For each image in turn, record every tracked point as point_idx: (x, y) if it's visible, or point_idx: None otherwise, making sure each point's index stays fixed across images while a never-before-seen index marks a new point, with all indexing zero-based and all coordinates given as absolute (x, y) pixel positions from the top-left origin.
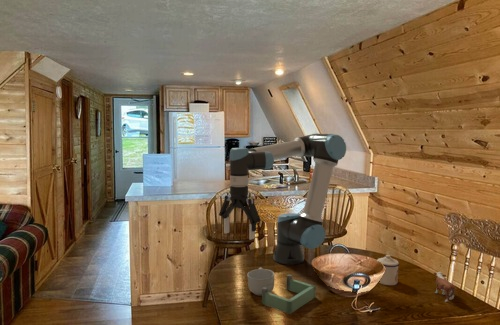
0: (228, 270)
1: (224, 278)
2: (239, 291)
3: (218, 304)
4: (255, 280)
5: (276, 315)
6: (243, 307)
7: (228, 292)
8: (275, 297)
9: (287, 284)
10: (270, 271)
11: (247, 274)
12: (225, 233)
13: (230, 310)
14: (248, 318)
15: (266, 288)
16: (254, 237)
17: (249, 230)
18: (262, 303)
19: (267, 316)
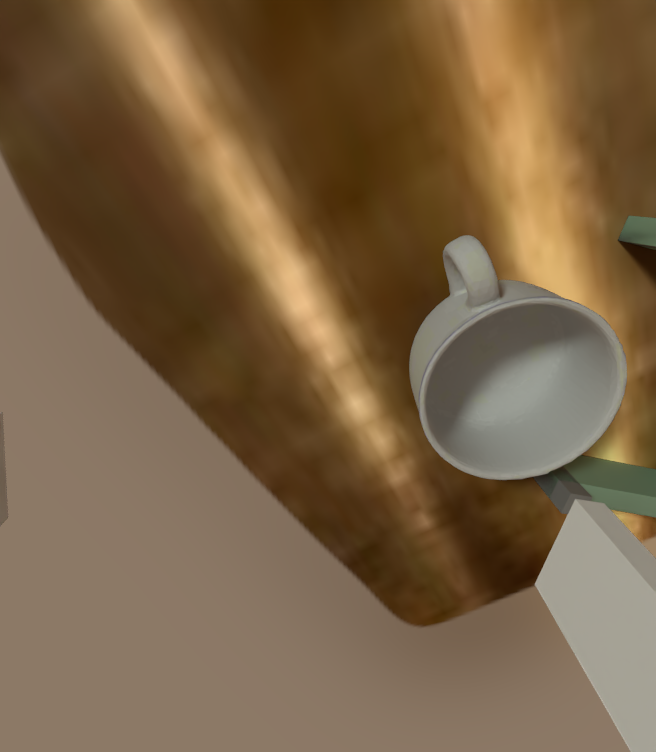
0: (88, 100)
1: (165, 268)
2: (356, 394)
3: (330, 551)
4: (505, 473)
5: None
6: (449, 525)
7: (306, 432)
8: (630, 511)
9: (648, 246)
10: (581, 314)
11: (428, 435)
12: (6, 518)
13: (406, 568)
14: (502, 585)
15: None
16: (607, 518)
17: (625, 737)
18: None
19: None
